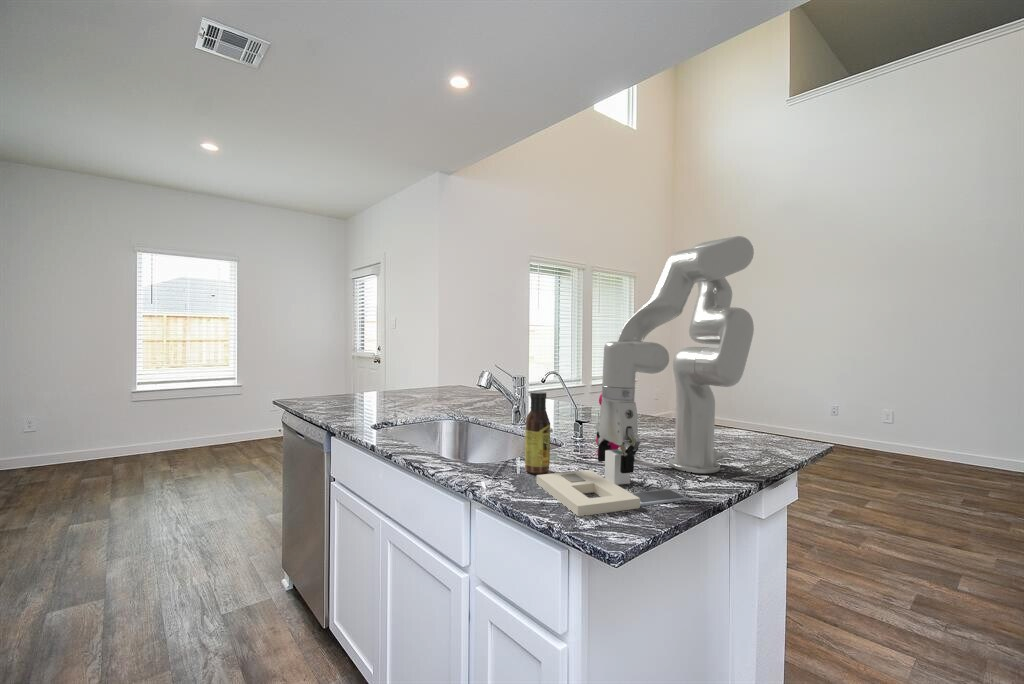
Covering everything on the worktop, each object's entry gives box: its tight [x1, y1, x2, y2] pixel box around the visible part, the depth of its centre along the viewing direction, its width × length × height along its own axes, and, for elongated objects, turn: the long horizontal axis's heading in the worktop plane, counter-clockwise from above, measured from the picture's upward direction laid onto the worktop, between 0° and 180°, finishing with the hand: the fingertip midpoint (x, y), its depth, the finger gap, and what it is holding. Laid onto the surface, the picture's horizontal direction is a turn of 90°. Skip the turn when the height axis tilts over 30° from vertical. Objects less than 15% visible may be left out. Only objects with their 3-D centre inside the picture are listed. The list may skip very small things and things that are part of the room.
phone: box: [631, 488, 690, 507], centre depth 100 cm, size 12×6×1 cm, turn 109°
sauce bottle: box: [524, 391, 551, 475], centre depth 117 cm, size 6×6×20 cm
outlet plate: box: [536, 469, 641, 517], centre depth 101 cm, size 14×20×2 cm
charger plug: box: [604, 448, 631, 486], centre depth 110 cm, size 4×4×7 cm
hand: (614, 466), depth 110 cm, fingers open, 9 cm apart
